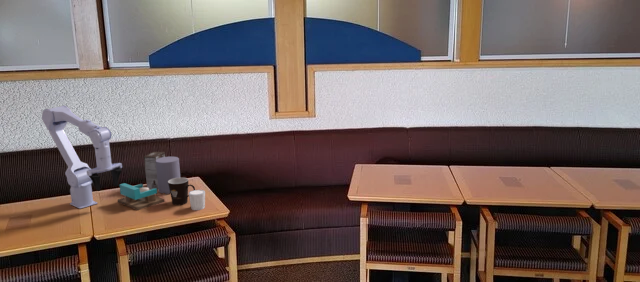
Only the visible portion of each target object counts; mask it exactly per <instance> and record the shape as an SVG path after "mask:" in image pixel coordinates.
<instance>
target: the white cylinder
mask: <svg viewBox="0 0 640 282" xmlns="http://www.w3.org/2000/svg"><path fill="white" fill-rule="evenodd" d="M188 195H189V197H188V199H189V203H190V209H191V210H192V211H202V210H203V209H205V207H206V190H204V189H195V190H194V189H193V190H190V191H188Z"/></svg>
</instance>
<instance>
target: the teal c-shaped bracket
mask: <svg viewBox="0 0 640 282" xmlns="http://www.w3.org/2000/svg"><path fill="white" fill-rule="evenodd" d="M118 186H119V193H120V195H122V196H124V197H126V196H127V197H129V198H132V199H135V200H137V199H140V198H143V197H147V196H150V195H153V194H155V195H156V194H158V189H149V190H148V191H145V192H141V193H140V188H142V187H144V184H143V183H139V184H136V185H131V184H128V183H125V182H124V183H121V184H119V183H118Z"/></svg>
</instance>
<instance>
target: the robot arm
mask: <svg viewBox="0 0 640 282" xmlns="http://www.w3.org/2000/svg"><path fill="white" fill-rule="evenodd" d="M41 121H42V122H43V123H44V125H45V128H46V129H47V130H48V133H49V135H50V136H51V138H52V140H53V142H54V144H55V146H56V148H57V150H58V151H59V153H60V155H61V157H62V158H63V160H64V162H65V164H66V166H67V167H66V168H67V169H66V170H65V172H64V175H65V176H66V180H67V184H68V185H69V186H70V189H69V193H70V199H71V202H70V203H69V205H70V206H74V207H76V208H77V209H80V210H81V209H84V208H86V207H90V206H94V205H98V201H95V200H94V198H93V189H92V184H94V188H95V190H96V191H98V192H100V191H101V183H100V182H101V181H100V180H101V176H100V175H99V174H100V173H101V174H102V173H104V172H110V173H111V176H112V184H113V186H114V187H118V186H119V179H120V176H121V174H122V168H123V163H121V162H115V163H112V156H111V155H112V154H111V146H110V140H111V139H112V132H111V130H110V128H108V127H107V126H100V125H99V124H96V123H94V122H93V121H92V120H91V119H88V118H87V119H82V118H81V117H80V116H78V115H76V114H75V113H74V112H72V110H71V108H70V107H68V106H67V105H60V106H55V107H50V108H44V109H43V111H42V113H41ZM68 123H69V124H70V125H74V126H75V127H77V128H78V131H79V132H81V133H82V134H84V135H85V136H86V137H88V138H89V139H90V141H91V143H92V146H93V148H94V153H95V160H96V167H94V168H91V167H90V166H89V164H88V163H86V162H83V161H81V160H80V157H79V156H78V154H77V152H76V151H75V148H74V147H73V145H72V142H71V141H70V138H69V137H68V136H67V133H66V132H65V130H64V128H65V127H66V126H67V125H68Z"/></svg>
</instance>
